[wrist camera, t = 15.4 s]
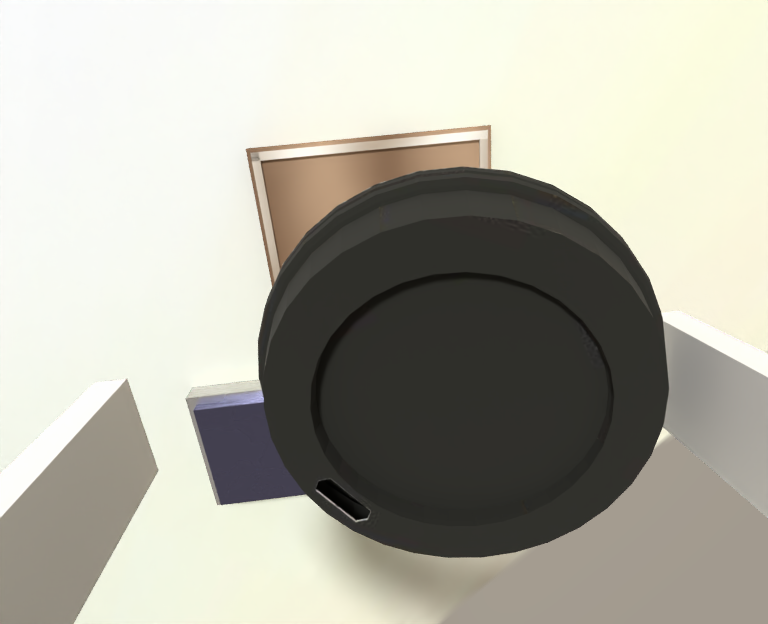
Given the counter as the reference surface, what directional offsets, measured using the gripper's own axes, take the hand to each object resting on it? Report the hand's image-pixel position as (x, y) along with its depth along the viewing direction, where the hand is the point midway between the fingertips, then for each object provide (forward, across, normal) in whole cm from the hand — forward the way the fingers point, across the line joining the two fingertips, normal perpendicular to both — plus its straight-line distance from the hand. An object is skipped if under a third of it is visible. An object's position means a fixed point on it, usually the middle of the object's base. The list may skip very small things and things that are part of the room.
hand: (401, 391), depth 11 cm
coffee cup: (+13, +4, +1) cm, 14 cm away
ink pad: (+14, -7, -11) cm, 19 cm away
